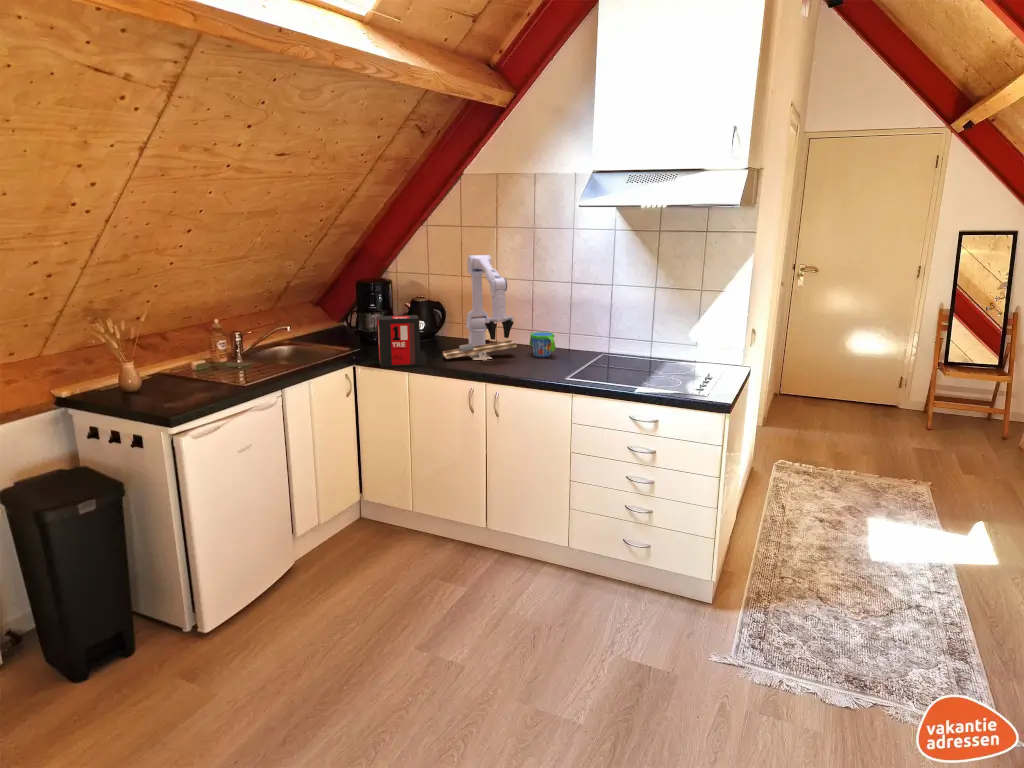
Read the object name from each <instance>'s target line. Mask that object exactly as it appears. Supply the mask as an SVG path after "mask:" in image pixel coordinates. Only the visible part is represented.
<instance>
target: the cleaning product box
mask: <svg viewBox="0 0 1024 768" xmlns="http://www.w3.org/2000/svg"><path fill="white" fill-rule="evenodd" d="M376 319H377V337H378V338H377V339H378V342H377V343H378V344H377V345H378V363H379V366H380V368H394V367H395V368H396V367H397V368H398V367H412V366H413V367H414V366H421V336H420V333H421V332H420V327H421V326H420V317H419V316H418V315H417V314H411V315H409V314H407V315H381V316H380V315H378V316H377V317H376Z"/></svg>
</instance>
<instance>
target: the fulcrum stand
mask: <svg viewBox="0 0 1024 768" xmlns="http://www.w3.org/2000/svg"><path fill="white" fill-rule="evenodd" d="M469 356H470V357H471V358H472V359H471V358H470V357H469ZM467 357H469V358H470V359H471V360H473V361H474V360H483V361H488V360H487V359H492V360H493V357H491V356H490V355H489V354H487V352H482V353H479V354H473V355H467Z"/></svg>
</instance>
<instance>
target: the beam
mask: <svg viewBox="0 0 1024 768" xmlns="http://www.w3.org/2000/svg"><path fill="white" fill-rule="evenodd" d="M517 346H518V345H517V342H512V340H511V339H510V340H509V339H508V340H504V341H498V342H491V343H487V344H486V343H485V345H479V346H473V349H474V350H470V351H464V352H461V351H460V348H457V349H449V350H444V351H442V356H443V357H444V358H445V359H446V360H447V359H448V360H449V359H453V358H454V359H455V358H459V357H466V356H467V357H468V355H473V354H479V353H482V352H484V353H485V352H486V353H489V352H495V351H503V350H507V349H513V348H517Z"/></svg>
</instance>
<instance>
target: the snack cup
mask: <svg viewBox="0 0 1024 768" xmlns="http://www.w3.org/2000/svg"><path fill="white" fill-rule="evenodd" d="M529 337H530V338H529V346H530V347H532V352H533V356H534V357H537V358H548V357H550V356H551V353H552V352H554V351H556V342H555V339H554V338H555V333H553V332H548V331H547V332H545V331H538V332H537V331H536V332H532V333H530V336H529Z"/></svg>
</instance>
